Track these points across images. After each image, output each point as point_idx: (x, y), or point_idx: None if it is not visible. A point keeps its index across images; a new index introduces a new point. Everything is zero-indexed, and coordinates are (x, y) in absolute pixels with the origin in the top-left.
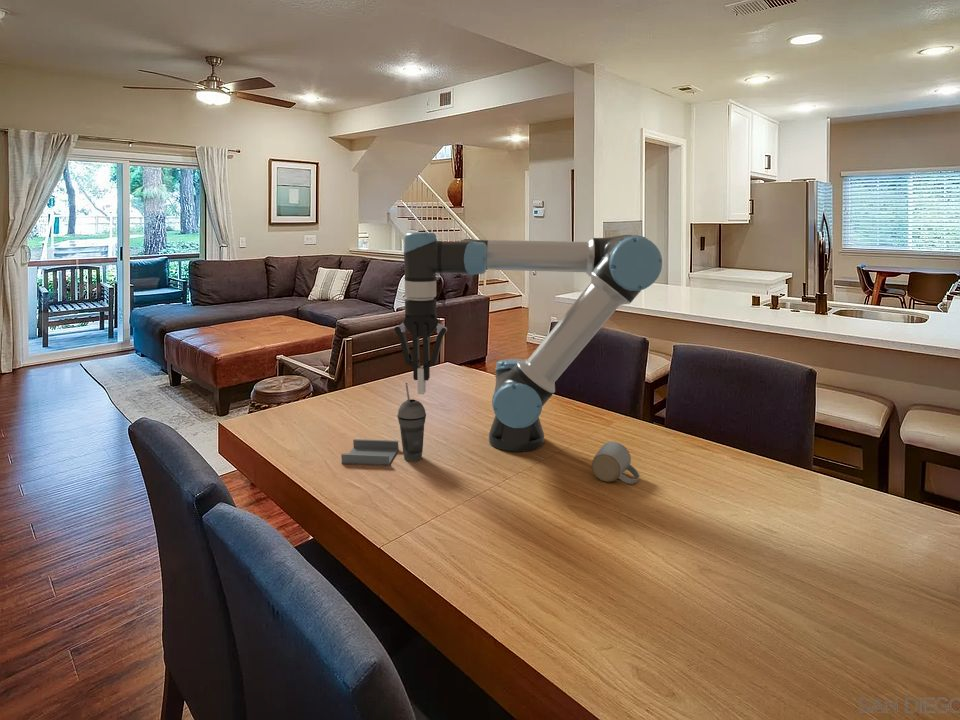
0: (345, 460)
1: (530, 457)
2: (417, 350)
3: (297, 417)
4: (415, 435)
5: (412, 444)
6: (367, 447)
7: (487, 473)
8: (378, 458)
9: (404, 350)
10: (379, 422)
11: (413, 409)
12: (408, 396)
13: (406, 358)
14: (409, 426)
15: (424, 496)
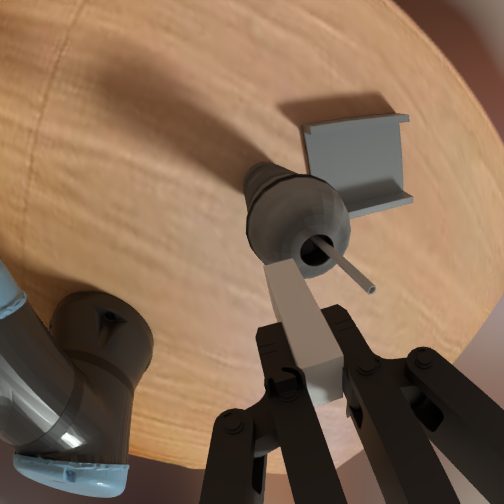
0: (394, 114)
1: (43, 280)
2: (397, 477)
3: (488, 278)
4: (260, 179)
5: (264, 170)
6: (379, 197)
7: (69, 174)
8: (331, 122)
9: (490, 418)
10: (388, 317)
11: (287, 206)
12: (335, 254)
13: (448, 379)
14: (282, 175)
15: (152, 15)
